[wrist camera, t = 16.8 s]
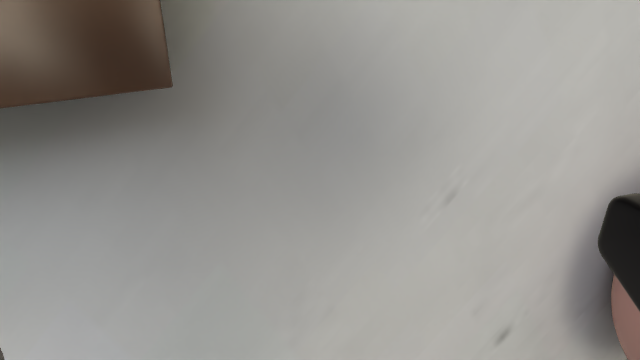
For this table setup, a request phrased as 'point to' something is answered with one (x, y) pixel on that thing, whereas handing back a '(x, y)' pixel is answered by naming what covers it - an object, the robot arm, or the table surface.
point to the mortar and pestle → (625, 320)
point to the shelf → (80, 49)
